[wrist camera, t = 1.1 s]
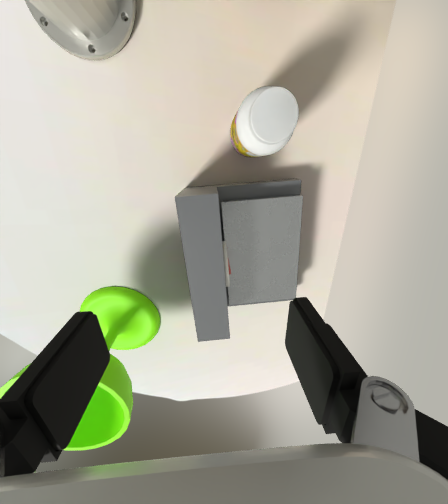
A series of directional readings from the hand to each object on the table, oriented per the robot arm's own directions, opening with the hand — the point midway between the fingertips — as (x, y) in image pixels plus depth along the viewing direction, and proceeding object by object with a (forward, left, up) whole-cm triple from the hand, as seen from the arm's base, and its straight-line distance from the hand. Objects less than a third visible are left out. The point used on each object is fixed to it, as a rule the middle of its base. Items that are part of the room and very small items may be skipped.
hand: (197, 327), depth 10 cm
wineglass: (+21, -20, -28) cm, 40 cm away
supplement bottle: (-11, +8, -28) cm, 31 cm away
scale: (+7, +6, -28) cm, 29 cm away
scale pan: (+7, +8, -24) cm, 26 cm away
